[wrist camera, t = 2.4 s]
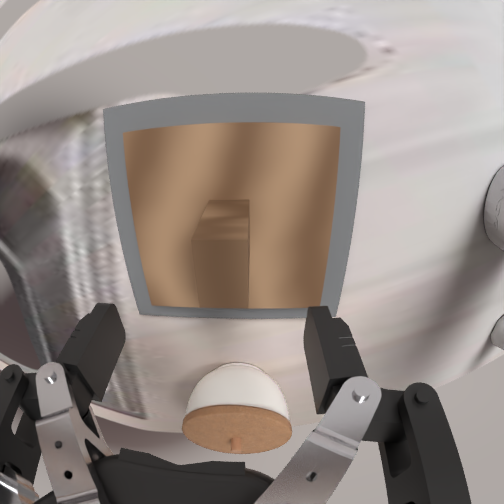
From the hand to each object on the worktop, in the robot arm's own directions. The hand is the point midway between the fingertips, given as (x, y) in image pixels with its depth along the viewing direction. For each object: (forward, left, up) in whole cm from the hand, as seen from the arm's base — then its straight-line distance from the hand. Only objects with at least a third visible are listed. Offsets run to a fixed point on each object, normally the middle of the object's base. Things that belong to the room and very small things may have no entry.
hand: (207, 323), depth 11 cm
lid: (0, 0, -10) cm, 10 cm away
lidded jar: (0, +19, -11) cm, 22 cm away
